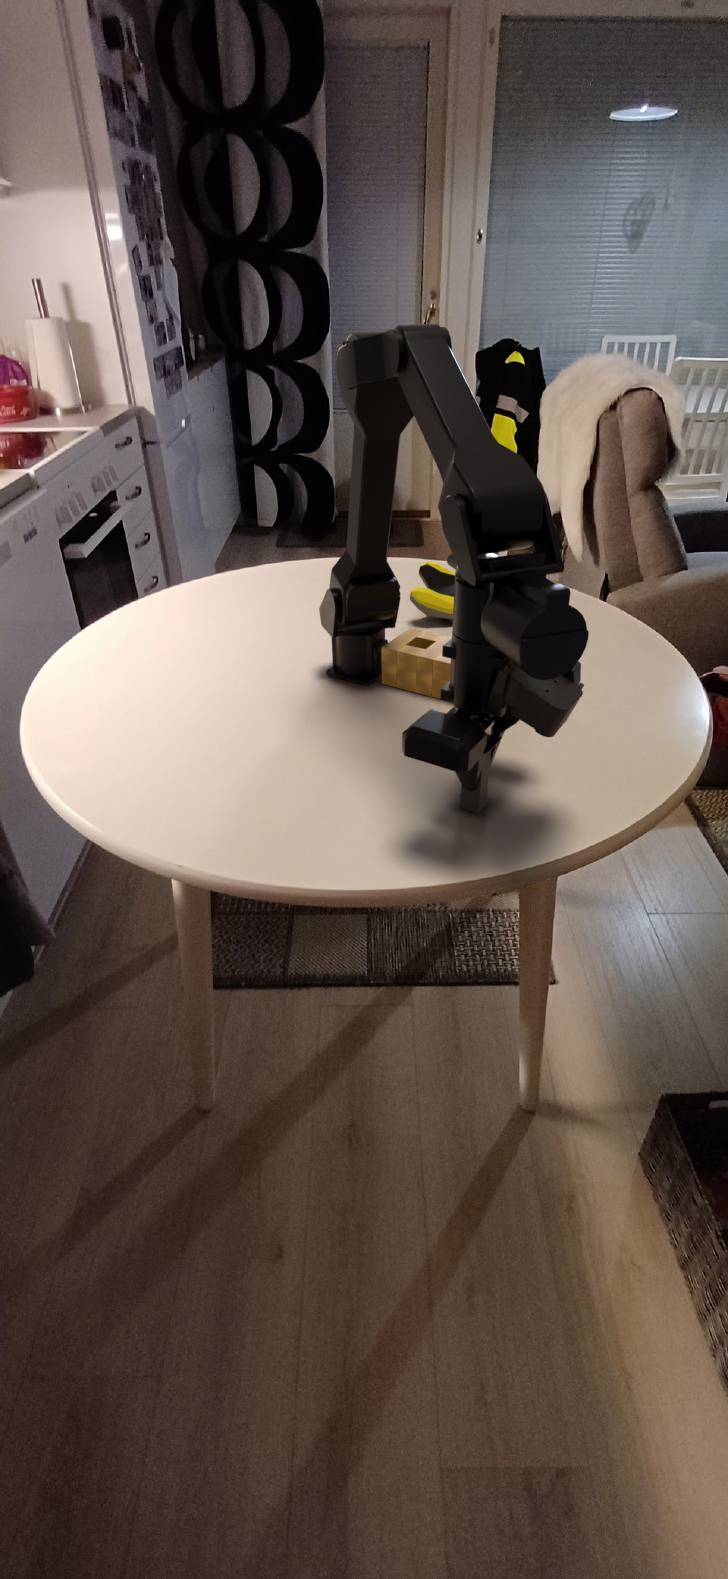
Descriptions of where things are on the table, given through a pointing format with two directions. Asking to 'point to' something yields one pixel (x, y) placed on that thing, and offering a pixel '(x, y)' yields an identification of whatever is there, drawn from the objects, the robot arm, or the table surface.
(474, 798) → the peg
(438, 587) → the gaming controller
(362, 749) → the table surface
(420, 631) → the holder
